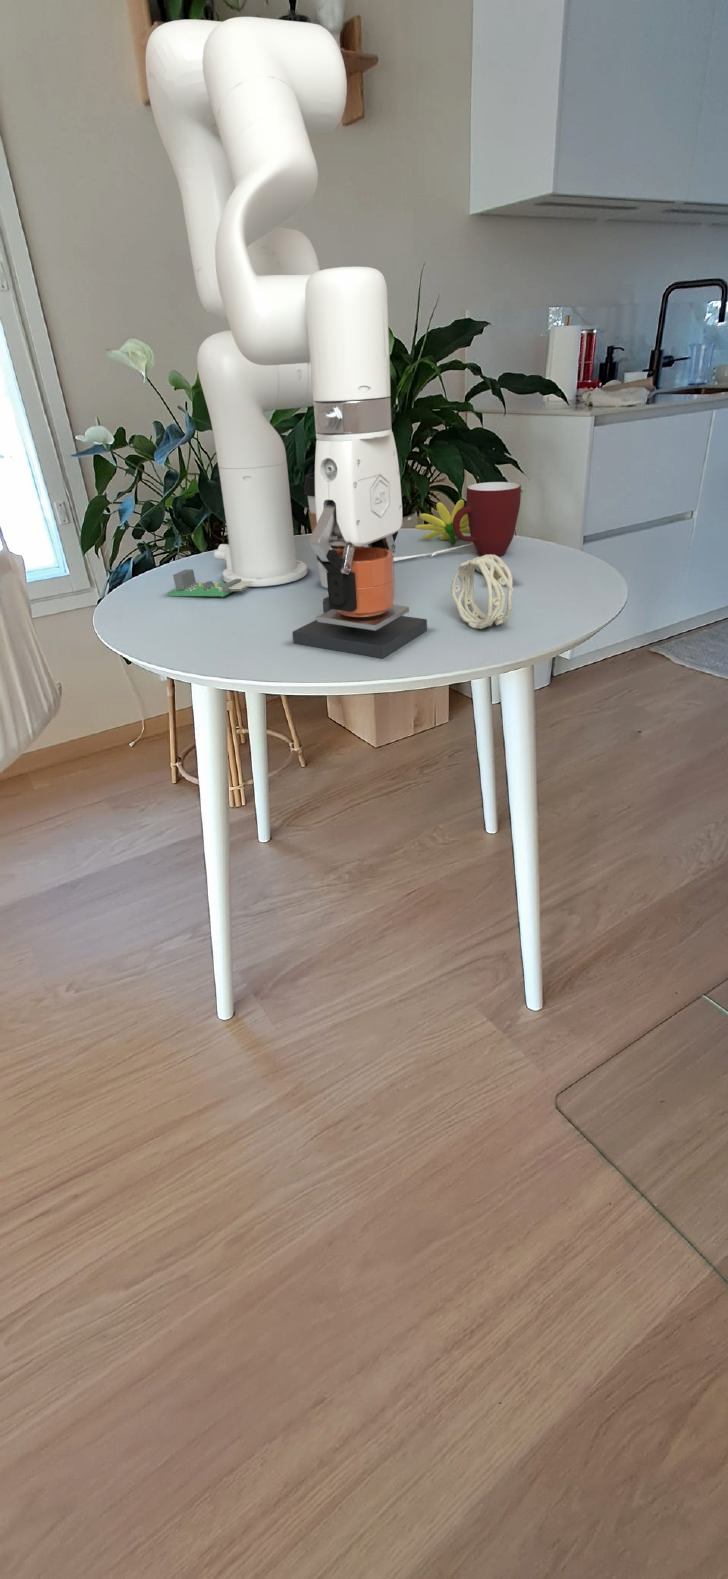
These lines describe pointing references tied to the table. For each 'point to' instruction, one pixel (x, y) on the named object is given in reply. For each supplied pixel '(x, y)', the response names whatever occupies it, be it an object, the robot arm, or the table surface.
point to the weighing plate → (363, 618)
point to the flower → (444, 523)
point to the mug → (490, 516)
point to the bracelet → (491, 582)
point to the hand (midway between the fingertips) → (362, 598)
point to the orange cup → (372, 581)
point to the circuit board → (203, 586)
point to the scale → (360, 635)
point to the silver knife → (427, 554)
